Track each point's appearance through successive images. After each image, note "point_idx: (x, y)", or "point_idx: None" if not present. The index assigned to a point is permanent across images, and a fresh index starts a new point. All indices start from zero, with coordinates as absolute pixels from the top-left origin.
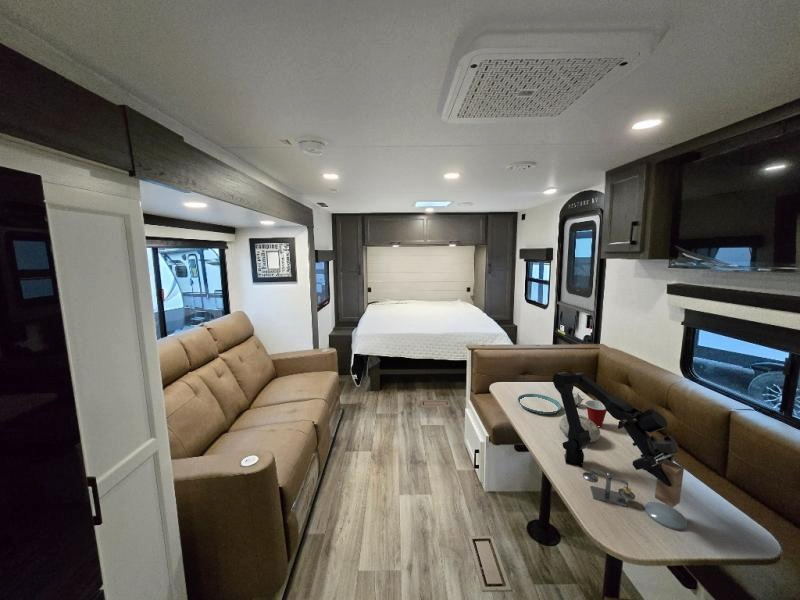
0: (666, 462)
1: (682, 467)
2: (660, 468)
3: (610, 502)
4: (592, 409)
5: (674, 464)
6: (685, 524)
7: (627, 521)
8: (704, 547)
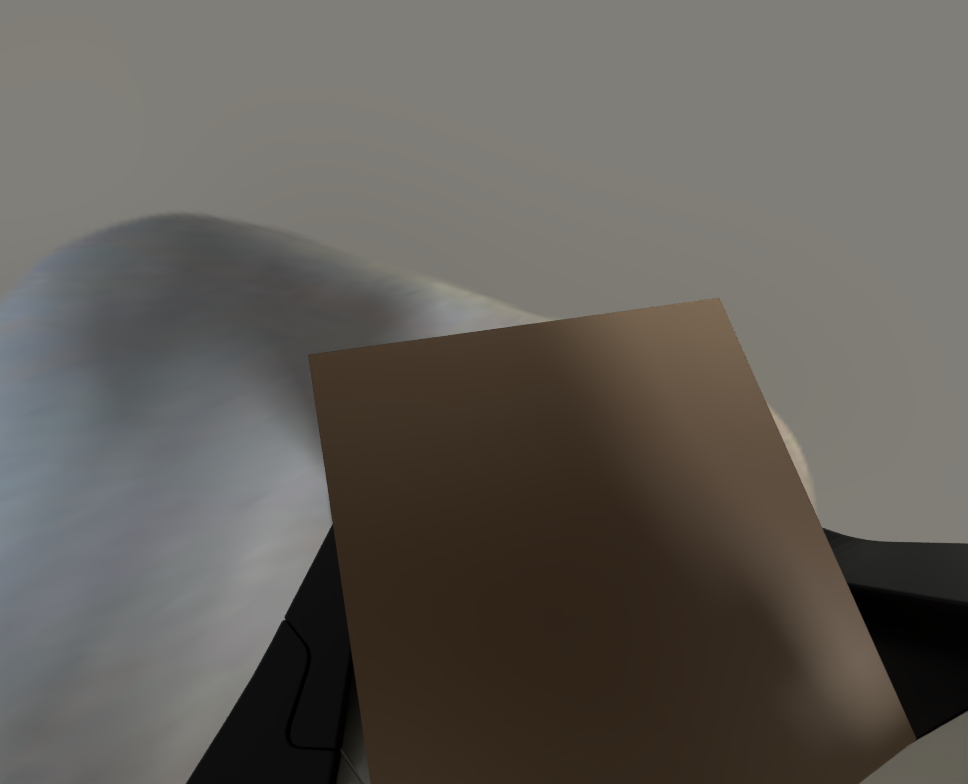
0: (656, 744)
1: (381, 361)
2: (851, 556)
3: None
4: None
5: (471, 571)
6: None
7: None
8: (448, 326)
